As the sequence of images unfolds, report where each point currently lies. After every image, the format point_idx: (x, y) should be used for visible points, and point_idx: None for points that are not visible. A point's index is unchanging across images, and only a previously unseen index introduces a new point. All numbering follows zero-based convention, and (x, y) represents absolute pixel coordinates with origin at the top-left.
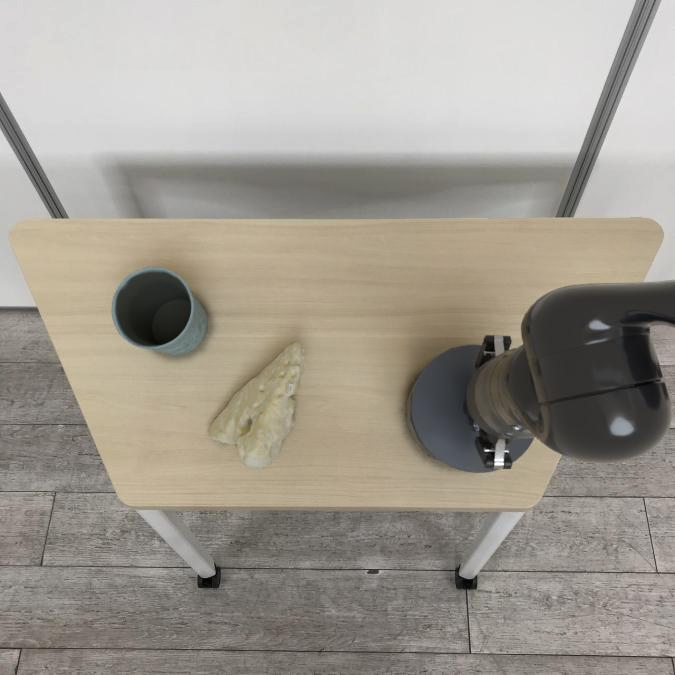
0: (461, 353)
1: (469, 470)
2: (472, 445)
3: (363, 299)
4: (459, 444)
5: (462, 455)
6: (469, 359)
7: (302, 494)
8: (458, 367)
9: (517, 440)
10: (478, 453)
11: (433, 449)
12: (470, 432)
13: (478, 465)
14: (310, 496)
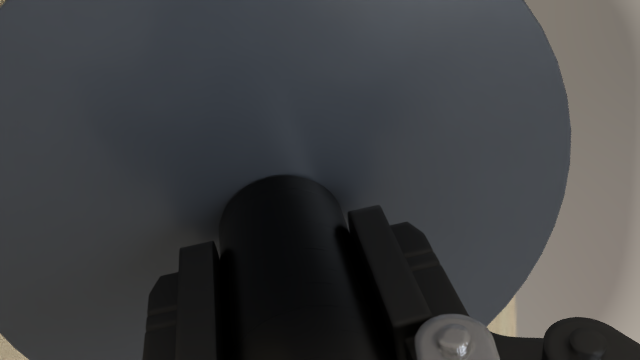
0: (47, 335)
1: (558, 187)
2: (454, 202)
3: (8, 354)
4: (453, 247)
5: (497, 226)
6: (60, 301)
7: (499, 331)
8: (118, 330)
9: (413, 5)
10: (487, 170)
11: (477, 319)
12: (398, 221)
13: (540, 160)
14: (502, 318)
